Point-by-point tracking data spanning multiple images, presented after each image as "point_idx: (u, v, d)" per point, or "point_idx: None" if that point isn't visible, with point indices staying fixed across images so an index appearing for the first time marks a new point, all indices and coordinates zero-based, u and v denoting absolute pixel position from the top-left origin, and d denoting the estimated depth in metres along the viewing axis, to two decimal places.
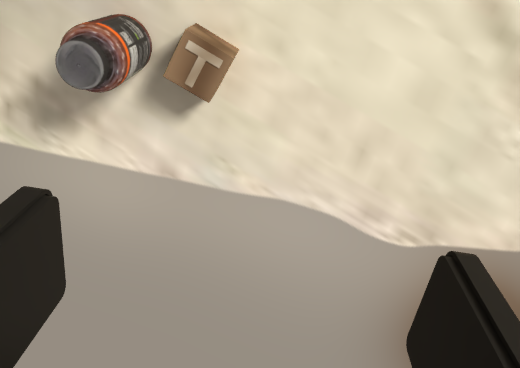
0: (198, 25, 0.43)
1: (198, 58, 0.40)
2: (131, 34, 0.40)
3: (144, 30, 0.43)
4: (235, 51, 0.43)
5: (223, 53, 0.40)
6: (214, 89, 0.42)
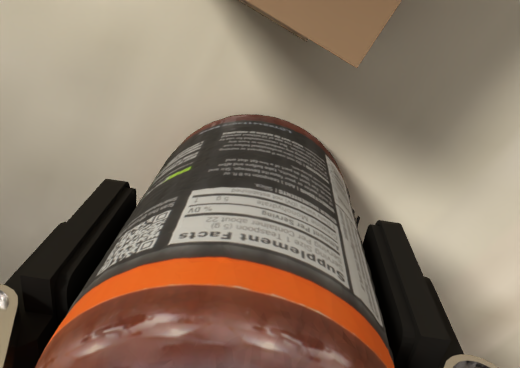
0: None
1: None
2: (154, 197, 0.09)
3: (198, 132, 0.12)
4: None
5: None
6: None
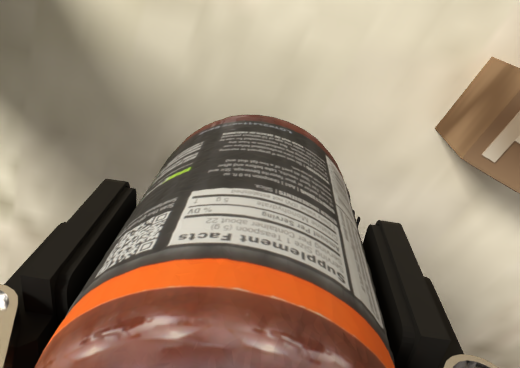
0: (440, 126, 0.26)
1: (518, 139, 0.22)
2: (154, 198, 0.09)
3: (198, 132, 0.12)
4: (502, 65, 0.23)
5: (519, 93, 0.21)
6: None
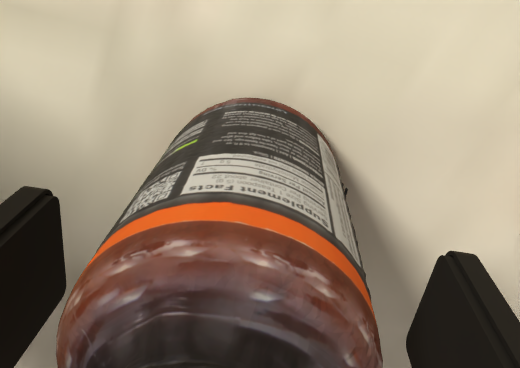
0: None
1: None
2: (166, 164, 0.10)
3: (202, 113, 0.13)
4: None
5: None
6: None
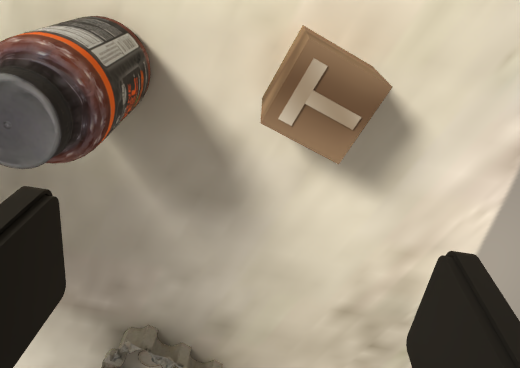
0: (265, 94, 0.27)
1: (309, 102, 0.23)
2: None
3: None
4: (303, 32, 0.24)
5: (300, 57, 0.22)
6: (367, 75, 0.22)
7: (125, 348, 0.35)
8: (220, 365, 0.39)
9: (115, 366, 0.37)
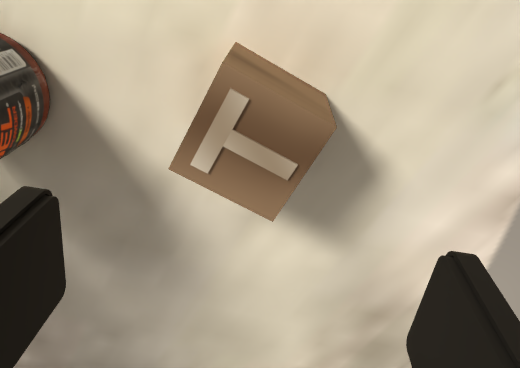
0: None
1: (229, 145, 0.17)
2: None
3: None
4: None
5: (213, 87, 0.16)
6: (302, 112, 0.17)
7: None
8: None
9: None
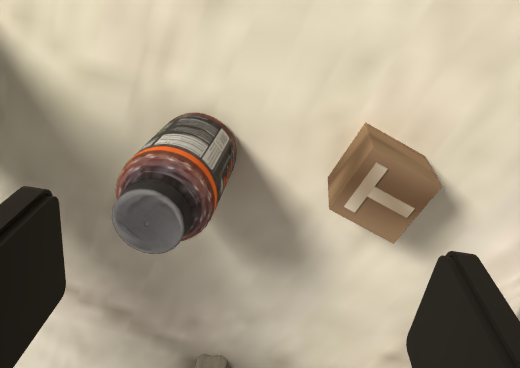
0: (330, 176, 0.32)
1: (370, 195, 0.27)
2: (152, 138, 0.28)
3: (173, 119, 0.31)
4: (366, 133, 0.29)
5: (365, 161, 0.26)
6: (420, 177, 0.26)
7: None
8: None
9: None
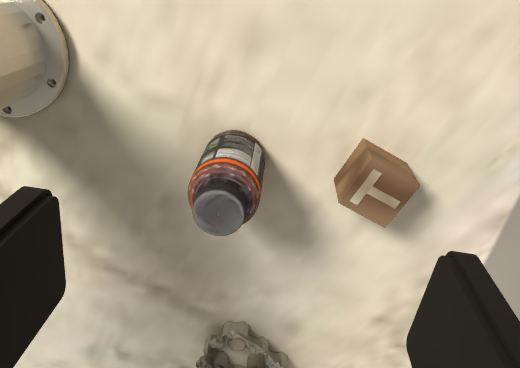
0: (336, 178, 0.42)
1: (369, 192, 0.38)
2: (209, 151, 0.37)
3: (217, 135, 0.40)
4: (365, 146, 0.39)
5: (366, 168, 0.37)
6: (405, 179, 0.37)
7: (230, 335, 0.50)
8: (286, 356, 0.54)
9: (216, 347, 0.51)
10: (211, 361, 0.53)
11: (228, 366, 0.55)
